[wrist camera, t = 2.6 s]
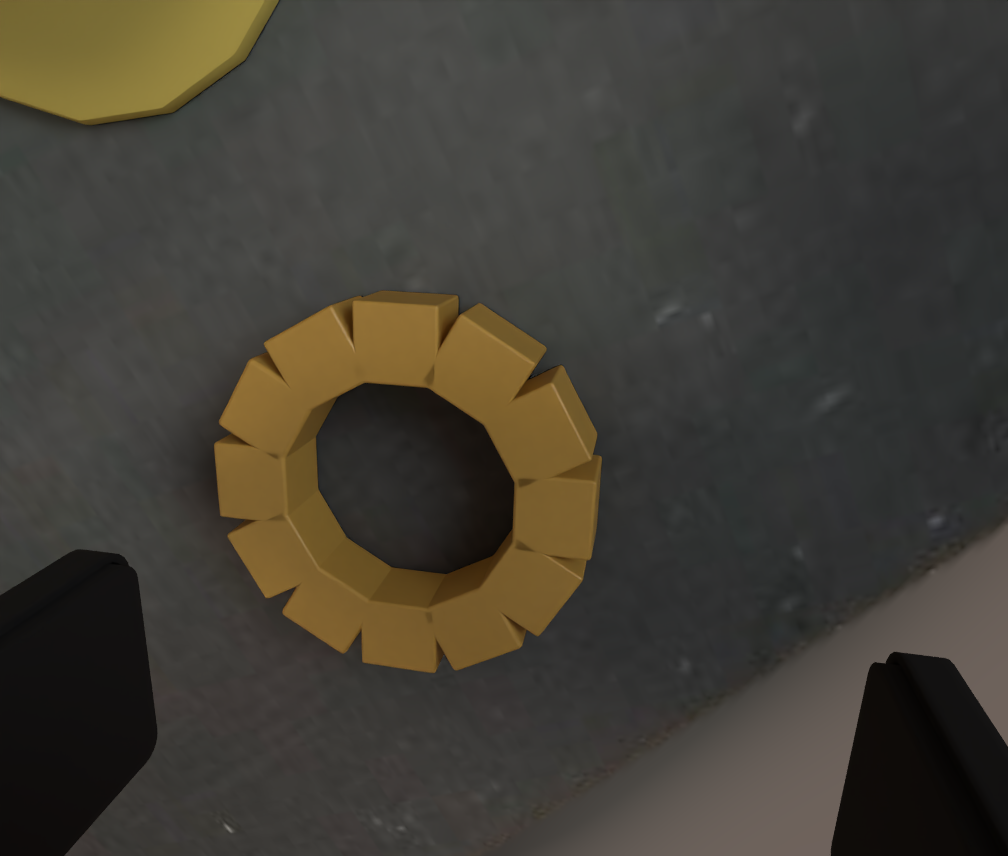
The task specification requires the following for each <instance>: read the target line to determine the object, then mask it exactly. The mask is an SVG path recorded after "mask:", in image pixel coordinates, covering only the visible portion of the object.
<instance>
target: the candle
mask: <svg viewBox="0 0 1008 856" xmlns="http://www.w3.org/2000/svg"><path fill="white" fill-rule="evenodd" d="M278 1H279V0H0V97H1V98H4V99H7V100H10V101H13V102H17V103H20V104H23V105H26V106H29V107H32V108H35V109H38V110H41V111H45V112H48V113H51V114H54V115H57V116H60V117H63V118H66V119H70V120H73V121H76V122H79V123H82V124H86V125H96V124H102V123H109V122H115V121H122V120H128V119H135V118H141V117H148V116H154V115H161V114H168V113H173V112H175V111H176V110H178V109H179V108H180V107H182V106H183V105H184V104H186V103H187V102H188V101H190V100H191V99H193V98H194V97H195V96H197V95H198V94H199V93H201V92H202V91H203V90H205V89H206V88H208V87H209V86H210V85H212V84H213V83H214V82H216V81H217V80H218V79H220V78H221V77H223V76H224V75H225V74H227V73H228V72H229V71H231V70H232V69H233V68H235V67H236V66H237V65H239V64H240V63H242V62H243V61H244V60H246V58H247V56H248V54H249V53H250V51H251V49H252V47H253V46H254V44H255V42H256V40H257V38H258V37H259V35H260V33H261V31H262V30H263V28H264V26H265V24H266V23H267V21H268V19H269V17H270V16H271V14H272V12H273V10H274V8H275V7H276V5H277V3H278Z"/></svg>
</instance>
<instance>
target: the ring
mask: <svg viewBox="0 0 1008 856" xmlns="http://www.w3.org/2000/svg"><path fill="white" fill-rule="evenodd" d="M458 307H459V298H458V296H457V295H447V294H431V293H415V292H399V291H379V292H376V293H374V294H371V295H368V296H365V297H361V296H356V297H353V298H350V299H347V300H344V301H341V302H339V303H336V304H333V305H330V306H328V307H326V308H324V309H322V310H321V311H319V312H317V313H315V314H314V315H312V316H310V317H308V318H306V319H305V320H303V321H301V322H299V323H298V324H296V325H294V326H292V327H290V328H289V329H287V330H285V331H283V332H281V333H280V334H278V335H276V336H274V337H273V338H271V339H269V340H267V341H265V343H264V346H265V348H266V349H267V351H268V352H266V353H263V354H261V355H259V356H256V357H254V358H251V359H250V360H249V361H248V363H247V365H246V367H245V369H244V371H243V373H242V375H241V377H240V379H239V381H238V383H237V385H236V387H235V389H234V391H233V393H232V396H231V398H230V400H229V402H228V404H227V406H226V408H225V410H224V412H223V414H222V416H221V418H220V420H219V424H220V425H221V426H222V427H224V428H225V429H227V430H228V431H230V432H231V434H230V435H228V436H226V437H224V438H223V439H221V440H219V441H217V442H216V443H215V444H214V452H215V464H216V475H217V486H218V497H219V509H220V515H221V516H222V517H230V518H239V519H246V520H245V521H244V522H242V523H241V524H240V525H239V526H237V527H236V528H235V529H234V530H232V531H231V532H230V533H229V534H228V538H229V540H230V542H231V543H232V545H233V546H234V548H235V550H236V551H237V553H238V554H239V556H240V558H241V559H242V561H243V562H244V564H245V566H246V567H247V569H248V570H249V572H250V574H251V575H252V577H253V578H254V580H255V582H256V583H257V585H258V586H259V588H260V590H261V591H262V593H263V594H264V596H265V597H266V598H271V597H273V596H275V595H278V594H280V593H282V592H285V591H287V590H289V589H292V588H294V587H296V586H297V587H296V588H295V590H294V592H293V593H292V595H291V597H290V598H289V600H288V602H287V603H286V605H285V607H284V608H283V612H282V613H283V615H284V616H286V617H287V618H289V619H290V620H292V621H293V622H295V623H296V624H298V625H299V626H301V627H302V628H304V629H305V630H307V631H309V632H310V633H312V634H313V635H315V636H316V637H318V638H319V639H321V640H322V641H324V642H325V643H327V644H328V645H330V646H331V647H333V648H334V649H336V650H337V651H339V652H340V653H345V652H347V650H348V649H349V648H350V646H351V645H352V643H353V642H354V640H355V639H356V637H357V636H358V634H359V633H360V631H362V661H363V662H364V663H369V664H375V665H382V666H389V667H395V668H402V669H409V670H415V671H422V672H428V673H435V672H436V670H437V668H438V666H439V663H440V661H441V659H442V657H443V655H444V654H445V655H446V657H447V659H448V660H449V662H450V664H451V666H452V667H453V669H454V670H460V669H463V668H465V667H468V666H471V665H474V664H477V663H480V662H482V661H485V660H488V659H491V658H494V657H496V656H499V655H502V654H505V653H508V652H511V651H513V650H516V649H519V648H520V647H521V646H522V644H523V641H524V637H525V634H526V631H527V630H528V631H529V632H531V633H532V634H534V635H536V636H539V635H540V634H541V633H542V632H543V631H544V629H545V628H546V627H547V625H548V624H549V623H550V622H551V620H552V619H553V618H554V617H555V615H556V614H557V613H558V611H559V610H560V609H561V608H562V606H563V605H564V604H565V603H566V601H567V600H568V599H569V597H570V596H571V595H572V594H573V592H574V591H575V590H576V589H577V587H578V586H579V585H580V583H581V582H582V581H583V576H584V571H585V566H586V560H590V559H591V557H592V551H593V545H594V540H595V534H596V528H597V518H598V505H599V493H600V480H601V467H602V457H601V456H599V455H593V452H594V448H595V444H596V440H597V432H596V430H595V428H594V426H593V424H592V422H591V420H590V418H589V416H588V414H587V412H586V410H585V408H584V406H583V404H582V403H581V401H580V399H579V397H578V395H577V393H576V391H575V389H574V387H573V385H572V383H571V381H570V379H569V377H568V375H567V373H566V371H565V369H564V367H563V366H562V365H559V366H557V367H555V368H552V369H550V370H548V371H546V372H544V373H542V374H540V375H538V376H536V377H534V378H531V379H529V380H527V379H528V378H529V376H530V375H531V373H532V372H533V370H534V369H535V367H536V366H537V364H538V363H539V361H540V360H541V358H542V357H543V355H544V354H545V352H546V350H547V348H546V347H545V346H544V345H542V344H541V343H539V342H538V341H536V340H535V339H533V338H532V337H530V336H529V335H527V334H526V333H524V332H523V331H521V330H520V329H518V328H517V327H515V326H514V325H512V324H511V323H509V322H508V321H506V320H505V319H503V318H502V317H500V316H499V315H497V314H496V313H494V312H493V311H491V310H490V309H488V308H487V307H485V306H484V305H482V304H480V303H478V304H477V305H475V306H473V307H472V308H470V309H468V310H467V311H465V312H464V313H462V314H460V315H459V316H458ZM363 383H375V384H387V385H398V386H410V387H422V388H429V389H430V390H432V391H433V392H435V393H436V394H438V395H439V396H441V397H442V398H444V399H445V400H447V401H448V402H450V403H451V404H453V405H454V406H456V407H457V408H459V409H460V410H462V411H463V412H465V413H466V414H468V415H469V416H471V417H472V418H474V419H476V420H477V421H479V422H480V423H482V424H483V425H484V426H485V428H486V430H487V432H488V434H489V436H490V438H491V439H492V441H493V443H494V445H495V447H496V449H497V451H498V453H499V454H500V456H501V458H502V460H503V462H504V464H505V466H506V467H507V469H508V471H509V473H510V475H511V477H512V479H513V481H514V482H515V484H514V508H513V529H512V530H511V532H510V533H509V534H508V536H507V537H506V539H505V540H504V541H503V543H502V544H501V546H500V547H499V548H498V550H497V551H496V553H495V554H494V555H493V556H491V557H489V558H486V559H484V560H481V561H479V562H476V563H474V564H471V565H469V566H466V567H464V568H461V569H459V570H456V571H454V572H451V573H449V574H440V573H432V572H425V571H417V570H409V569H401V568H393V567H390V566H389V565H387V564H386V563H384V562H383V561H381V560H380V559H378V558H377V557H375V556H374V555H372V554H371V553H369V552H368V551H366V550H365V549H363V548H362V547H360V546H359V545H357V544H356V543H354V542H353V541H351V540H350V539H348V538H347V537H346V535H345V534H344V532H343V530H342V528H341V527H340V525H339V523H338V522H337V520H336V518H335V517H334V515H333V513H332V512H331V510H330V508H329V506H328V505H327V503H326V501H325V500H324V498H323V496H322V495H321V493H320V491H319V490H318V473H317V451H316V435H317V433H318V432H319V430H320V428H321V426H322V424H323V423H324V421H325V419H326V417H327V415H328V414H329V412H330V410H331V408H332V406H333V405H334V403H335V401H336V399H337V397H338V396H340V395H342V394H343V393H345V392H347V391H349V390H351V389H353V388H355V387H357V386H359V385H361V384H363Z"/></svg>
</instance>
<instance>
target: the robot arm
mask: <svg viewBox="0 0 1008 856" xmlns="http://www.w3.org/2000/svg"><path fill="white" fill-rule="evenodd" d="M156 741H157V724H156V716H155V708H154V700H153V692H152V684H151V677H150V669H149V661H148V653H147V645H146V637H145V630H144V622H143V614H142V606H141V598H140V590H139V583H138V577H137V573H136V571H135V570H134V569H133V568H132V567H130V566H129V565H128V562H127V561H126V559H125V558H124V557H123V556H121V555H120V554H114V553H106V552H98V551H90V550H75V551H72V552H70V553H68V554H67V555H65V556H63V557H62V558H60V559H58V560H57V561H55V562H54V563H52V564H50V565H49V566H47V567H46V568H44V569H42V570H41V571H39V572H38V573H36V574H34V575H33V576H31V577H29V578H28V579H26V580H25V581H23V582H21V583H20V584H18V585H17V586H15V587H13V588H12V589H10V590H9V591H7V592H5V593H4V594H2V595H0V856H64V855H65V854H66V853H67V852H68V851H69V850H70V848H71V847H72V846H73V845H74V844H75V843H76V842H77V840H78V839H79V838H80V837H81V836H82V835H83V834H84V833H85V831H86V830H87V829H88V828H89V827H90V826H91V825H92V823H93V822H94V821H95V820H96V819H97V818H98V817H99V816H100V814H101V813H102V812H103V811H104V810H105V809H106V808H107V806H108V805H109V804H110V803H111V802H112V801H113V800H114V799H115V797H116V796H117V795H118V794H119V793H120V792H121V791H122V789H123V788H124V787H125V786H126V785H127V784H128V783H129V781H130V780H131V779H132V778H133V777H134V776H135V775H136V774H137V772H138V771H139V770H140V769H141V768H142V767H143V766H144V764H145V763H146V762H147V761H148V759H149V758H150V756H151V754H152V752H153V750H154V748H155V745H156ZM831 856H1008V746H1007V745H1006V743H1005V742H1004V740H1003V739H1002V737H1001V736H1000V734H999V733H998V731H997V729H996V728H995V726H994V725H993V723H992V722H991V720H990V719H989V717H988V716H987V714H986V713H985V712H984V710H983V708H982V707H981V705H980V703H979V702H978V700H977V699H976V697H975V696H974V694H973V693H972V692H971V690H970V688H969V687H968V685H967V684H966V682H965V681H964V679H963V678H962V676H961V675H960V673H959V671H958V670H957V668H956V667H955V665H954V664H953V663H952V662H951V661H950V660H949V659H946V658H939V657H931V656H923V655H915V654H908V653H900V652H893V653H892V654H890V655H889V657H888V659H887V661H886V664H885V663H877V662H875V663H873V664H872V665H871V667H870V669H869V672H868V676H867V681H866V685H865V690H864V695H863V699H862V704H861V709H860V713H859V718H858V723H857V728H856V732H855V737H854V742H853V747H852V751H851V756H850V760H849V765H848V770H847V775H846V779H845V784H844V789H843V793H842V798H841V803H840V807H839V812H838V817H837V822H836V826H835V831H834V836H833V840H832V846H831Z"/></svg>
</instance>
